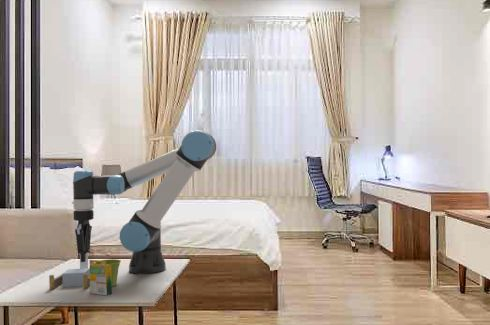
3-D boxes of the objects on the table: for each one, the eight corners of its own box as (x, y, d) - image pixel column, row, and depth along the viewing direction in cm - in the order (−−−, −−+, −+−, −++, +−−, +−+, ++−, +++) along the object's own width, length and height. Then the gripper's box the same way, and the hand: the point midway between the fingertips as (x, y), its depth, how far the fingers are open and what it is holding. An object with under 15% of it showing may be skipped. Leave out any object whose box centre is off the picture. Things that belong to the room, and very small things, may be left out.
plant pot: (126, 283, 183) (125, 259, 183) (111, 289, 174) (111, 264, 174) (105, 281, 186) (104, 258, 186) (89, 287, 177) (88, 263, 178)
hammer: (99, 280, 189) (98, 267, 189) (87, 288, 176) (86, 274, 176) (63, 281, 190) (63, 268, 190) (48, 289, 176) (48, 275, 176)
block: (90, 281, 189) (89, 268, 189) (84, 286, 181) (84, 272, 181) (68, 282, 188) (68, 269, 188) (62, 287, 180) (62, 273, 180)
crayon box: (112, 293, 168) (111, 259, 168) (106, 295, 165) (105, 260, 166) (95, 291, 171) (94, 258, 171) (89, 293, 169) (88, 259, 169)
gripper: (79, 208, 201) (80, 266, 201) (67, 211, 188) (68, 273, 188) (98, 208, 201) (98, 266, 201) (87, 211, 188) (88, 273, 187)
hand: (84, 269), depth 194 cm, fingers closed
